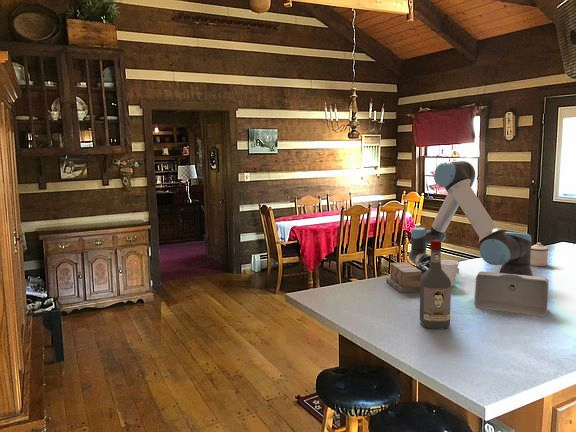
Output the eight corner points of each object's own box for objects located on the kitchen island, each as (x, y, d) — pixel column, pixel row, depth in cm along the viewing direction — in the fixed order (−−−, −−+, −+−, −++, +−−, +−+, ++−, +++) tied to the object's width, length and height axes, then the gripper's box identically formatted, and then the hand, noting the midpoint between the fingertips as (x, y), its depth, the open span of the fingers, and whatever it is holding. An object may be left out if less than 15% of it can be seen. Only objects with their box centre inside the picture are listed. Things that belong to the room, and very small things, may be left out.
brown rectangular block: (386, 281, 222) (386, 263, 221) (410, 280, 223) (411, 262, 222) (399, 292, 204) (399, 272, 203) (425, 291, 205) (426, 271, 204)
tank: (547, 304, 184) (548, 273, 182) (547, 316, 170) (548, 283, 169) (479, 296, 196) (480, 267, 195) (473, 307, 182) (474, 276, 181)
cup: (455, 282, 217) (455, 259, 216) (461, 288, 208) (461, 264, 206) (433, 282, 218) (433, 259, 217) (438, 288, 209) (438, 264, 207)
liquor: (418, 320, 169) (419, 238, 166) (443, 319, 169) (445, 238, 165) (424, 329, 160) (426, 243, 157) (451, 329, 160) (453, 242, 156)
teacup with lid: (547, 263, 251) (548, 241, 249) (547, 266, 243) (548, 244, 241) (522, 261, 256) (523, 240, 255) (522, 265, 248) (522, 243, 247)
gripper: (449, 267, 237) (469, 278, 216) (401, 270, 235) (417, 281, 214) (449, 253, 236) (470, 262, 215) (401, 255, 234) (417, 265, 213)
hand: (443, 271), depth 215 cm, fingers open, 13 cm apart
